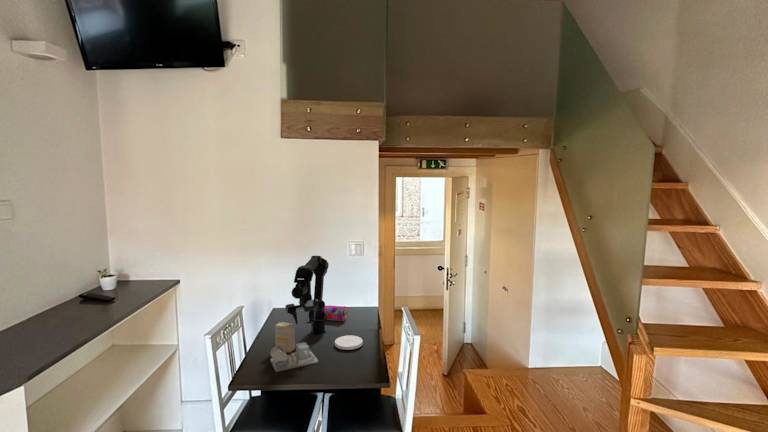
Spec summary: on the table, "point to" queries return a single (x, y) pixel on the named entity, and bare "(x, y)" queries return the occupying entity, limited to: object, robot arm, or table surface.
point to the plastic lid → (348, 342)
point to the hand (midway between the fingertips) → (305, 322)
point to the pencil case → (336, 312)
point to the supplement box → (285, 336)
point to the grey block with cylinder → (302, 351)
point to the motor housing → (289, 359)
